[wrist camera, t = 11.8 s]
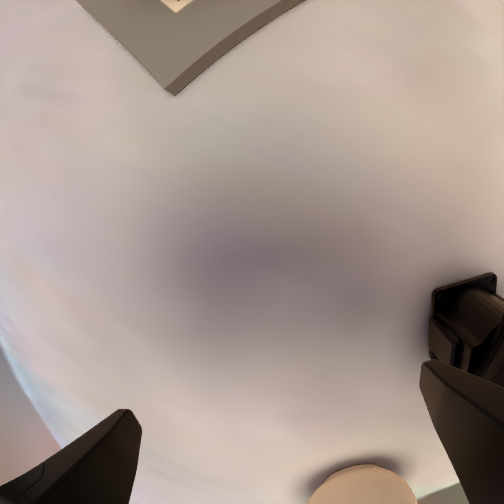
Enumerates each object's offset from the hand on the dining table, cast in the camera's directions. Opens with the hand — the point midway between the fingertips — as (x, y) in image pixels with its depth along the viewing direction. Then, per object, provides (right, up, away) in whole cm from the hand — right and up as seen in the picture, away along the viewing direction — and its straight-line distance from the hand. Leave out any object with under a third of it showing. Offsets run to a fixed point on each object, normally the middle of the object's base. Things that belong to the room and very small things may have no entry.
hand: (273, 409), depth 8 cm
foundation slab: (-5, +24, +8) cm, 26 cm away
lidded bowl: (+11, -22, +18) cm, 30 cm away
